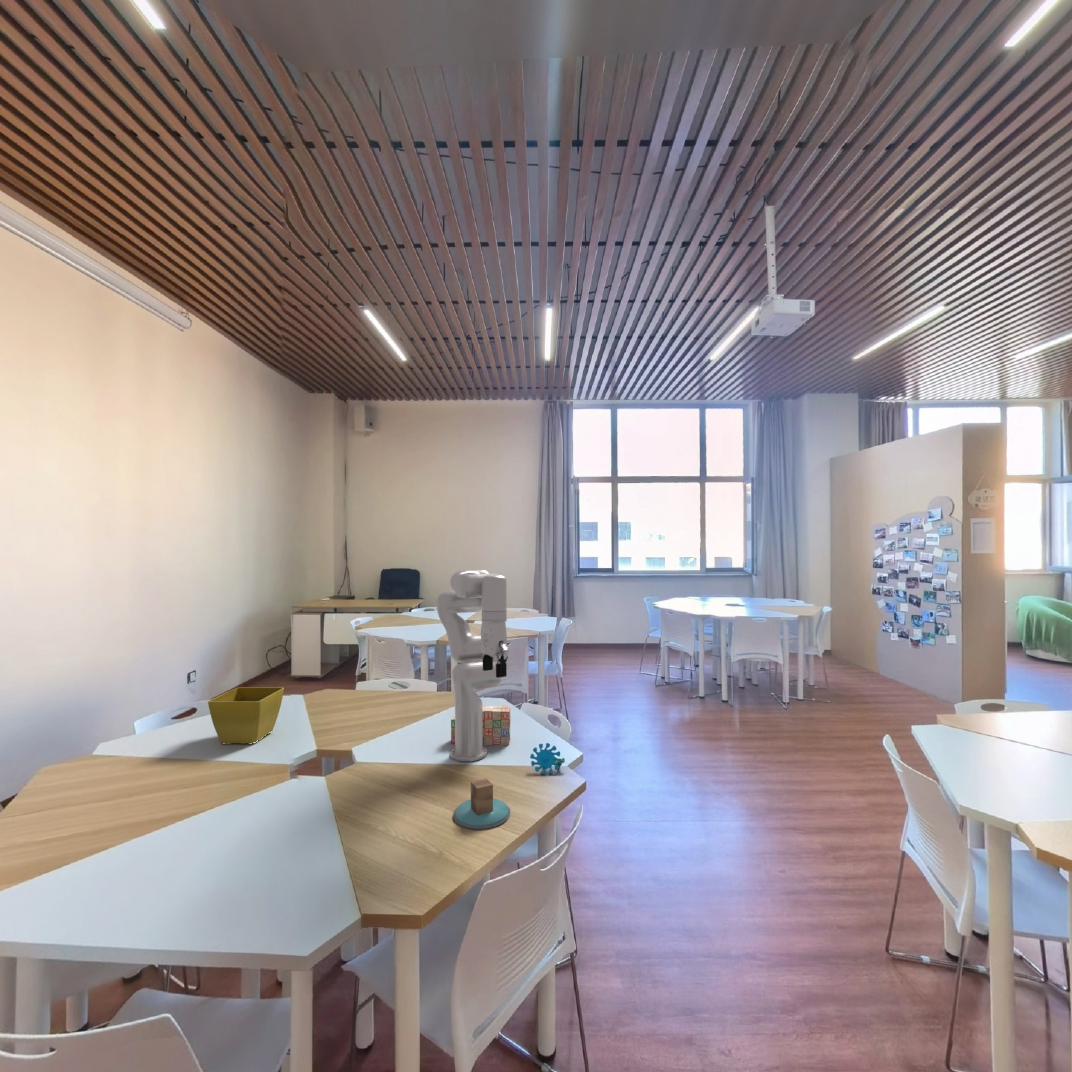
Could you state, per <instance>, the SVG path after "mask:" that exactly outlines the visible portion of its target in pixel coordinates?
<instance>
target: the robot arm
mask: <svg viewBox="0 0 1072 1072" xmlns="http://www.w3.org/2000/svg"><path fill="white" fill-rule="evenodd" d="M449 581H450V582H449V583H450V587H451V588H452V589H453V590H447V591H443V592H441V593H440V594H439V595H438V596H437V598H436V610H437V614H438V618H439V620H440V622H441V624H442V625H443V627H444V630H445V631H446V636H447V641H448V644H449V650H450V654H451V656H452V659H453V661H455V662H456V663H458V664H456V665H455V666H454V667H453V669H452V672H451V679H452V685H453V691H454V692H453V693H454V714H455V744H454V748H452V750H450V753H449V754H450V758H451V759H453V760H456V761H458V762H475V761H478V760H482V759H484V758H485V757H486V756H487V755H488V750H487V748H486V747H485V746H484V745H483V706H484V705H483V700H482V698H481V697H480V696H479V695H478V694H477V693H476V692H477V691H479V690H484V689H485V690H486V689H493V688H496V687H499V686H501V684H502V683H503V678H504V677H507V672H508V671H507V664H508V658H509V655H508V654H509V649H508V638H507V637H508V635H507V625H506V622H507V578H506V576H504V575H501V574H498V573H489V572H488V571H487V570H485V569H461V570H458V571H455V572H454V573H453V574H452V575H451V577H450V579H449ZM477 612H481V628H480V634H472V632H471V628H470V625H469V623H468V622H467V621H466V620H465V619H464V618H463V617H462V616H460V615H459V614H464V613H477Z"/></svg>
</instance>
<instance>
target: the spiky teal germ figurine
mask: <svg viewBox="0 0 1072 1072" xmlns="http://www.w3.org/2000/svg"><path fill="white" fill-rule="evenodd" d="M543 747H544V744H543V743H539V744H538V748H539V752H538V748H537V747H536V746H535V747H533V749H532V751H533V753H530V756H529V757H530V759H531V763H530V765H531V766H532V767H533V766H536V767H534V771H535V772H536V773H538V772H539V770H541V775H543V776H545V775H546V772H547V769H549V770H548V774H549V775H553V774H554V771H553V768H552V767H553V766H554V770H555V771H557V770H559V769H560V768H561V766H562V764H564V763H565V761H566V759H565V758H564V757H562V758H558V757H561V752H560V750H559V751H556V750H557V747H556V745H553V746H552V747H551V744H550V743H549V742H546V743H545V748H544V749H543ZM550 747H551V748H550ZM549 748H550V749H549ZM553 751H556V752H553ZM534 753H535V754H536V756H535V754H534ZM556 756H557V757H556ZM533 759H534V760H535V761H534V760H533ZM543 768H544V769H543ZM542 769H543V770H542Z"/></svg>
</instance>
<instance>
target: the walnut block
mask: <svg viewBox="0 0 1072 1072" xmlns="http://www.w3.org/2000/svg"><path fill="white" fill-rule="evenodd" d="M493 798H494V784H493V783H492V782H491V781H490V780H489V779H488V778H487V777H486V778H482V779H477V780H472V781H470V800H471V809H472V810H473V811H474V812H475V814H476V815H481V814H485V813H489V812H492V811H493Z"/></svg>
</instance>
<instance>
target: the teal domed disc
mask: <svg viewBox="0 0 1072 1072" xmlns="http://www.w3.org/2000/svg"><path fill="white" fill-rule="evenodd" d="M510 816H511V809H510V806H508V804H506V802H504V800H503V801H502V800H501V799H497V798H494V797H493V811H492V812H489V813H485V814H481V815H476V814H475V812H474V811H473V810H472V809H471V799H468V800H465V801H464V802H462V803H460V804H459V805H458V806H456V808H455V809H454V810H453V820H454V822H455V823H456V824H457V825H458V826H460V827H462V828H465V829H468V830H475V831H476V830H482V831H483V830H490V829H494V828H497V827H499V826H501V825H503V824H504V823H506V822H507V821H508V820H509V818H510Z"/></svg>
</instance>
